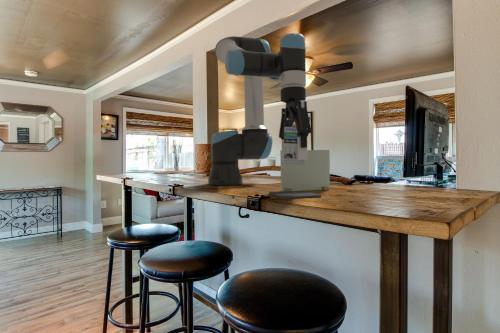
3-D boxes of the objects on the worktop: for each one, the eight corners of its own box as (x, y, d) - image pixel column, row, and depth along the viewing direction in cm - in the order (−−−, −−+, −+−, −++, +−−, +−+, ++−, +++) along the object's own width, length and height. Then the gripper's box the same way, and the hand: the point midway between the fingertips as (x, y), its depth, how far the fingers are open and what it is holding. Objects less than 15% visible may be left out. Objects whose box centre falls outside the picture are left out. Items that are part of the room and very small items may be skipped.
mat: (269, 193, 93) (269, 191, 93) (303, 192, 96) (303, 190, 96) (282, 199, 82) (282, 197, 82) (321, 197, 84) (321, 195, 84)
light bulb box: (305, 164, 83) (307, 127, 82) (281, 163, 84) (284, 126, 83) (304, 164, 93) (306, 131, 93) (283, 163, 94) (285, 130, 94)
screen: (279, 190, 101) (279, 150, 101) (326, 188, 106) (325, 150, 105) (283, 191, 98) (283, 150, 97) (331, 189, 102) (331, 149, 101)
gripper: (268, 96, 99) (269, 159, 99) (297, 76, 75) (298, 160, 76) (289, 96, 100) (290, 159, 101) (323, 78, 77) (324, 159, 77)
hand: (293, 159), depth 88 cm, fingers closed on light bulb box, 12 cm apart
